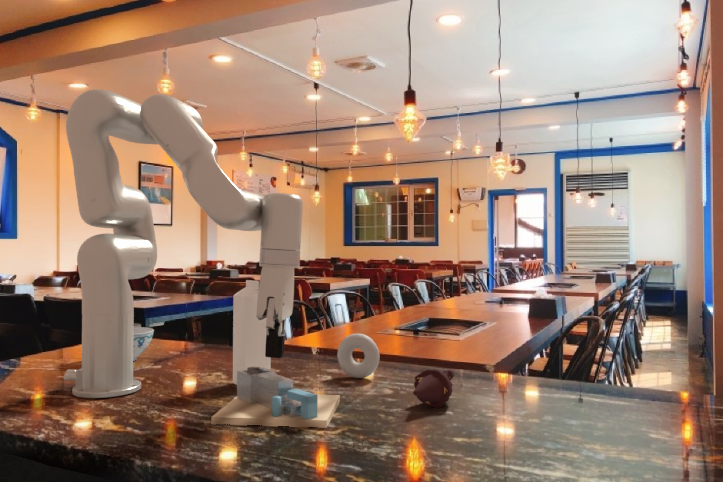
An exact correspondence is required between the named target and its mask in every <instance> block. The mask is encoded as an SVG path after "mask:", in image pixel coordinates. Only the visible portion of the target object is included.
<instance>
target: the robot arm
mask: <svg viewBox="0 0 723 482" xmlns="http://www.w3.org/2000/svg"><path fill="white" fill-rule="evenodd" d="M65 131H66V137H67V138H66V139H67V142H68V147H69V151H70V154H71V155H70V156H71V159H72V166H73V176H74V183H75V185H74V186H75V191H76V197H77V198H76V199H77V206H78V212H79V216H80V217H81V219H82V221H83V222H84V223H85V224H87V225H89V226H91V227H95V228H100V229H101V228H103V229H112V231H113V232H112V233H100V234H99V233H98V234H95V235H93V236H90V237H88V238H86V240H84V241H83V243H82V244H81V245H80V247H79V248H78V252H77V255H76V256H77V257H76V262H77V269H78V271H77V272H78V274H79V275H78V276H79V282H80V287H81V316H82V317H81V367H80V368H79V369H67V370H66V371H65V373H64V376H63V380H64V381H69V382H72V381H74V382H75V386H73V387H72V391H71V393H72V395H73V396H75V397H78V398H85V399H104V398H115V397H121V396H126V395H129V394H132V393H135V392H138V391H139V390H140V389H141V388H142V382H141V381H140V380H138V379H135V378H134V362H133V337H134V327H135V326H134V322H135V321H134V320H135V319H134V317H135V314H134V313H135V312H134V311H135V309H134V308H135V306H134V305H135V303H134V295H133V291H132V288H131V285H130V283H129V280H135V279H136V280H137V279H141V278H142V279H143V278H144V277H146V276H149V274H150V273H152V272H153V270H154V269H155V266H156V264H157V261H158V247H157V240H156V233H155V227H154V218H153V212H152V207H151V203H150V202H149V199H148V198H147V196H146V195H145V193H144V192H143V191H141V190H140V189H138V188H137V187H134V186H131V185H127V184H124V183H123V181H122V178H121V172H120V162H119V158H118V156H117V153H116V150H115V148H114V147H113V144H112V143H111V140H110V137H113V138H118V139H120V140H123V141H127V142H129V143H135V144H144V145H158V146H159V147H160V148H161V149H162V150H163V151H164V152H165V153H166V155H167V156H168V157H169V158H170V159H171V161H173V163H174V164H175V165H176V166H177V168H178V169H179V170H180V172H181V173H182V174H181V175H182V179H183V182H184V184H185V187H186V189H187V191H188V193H189V194H190V196H191V197H192V198H193V199H194V201H195V202H196V203H197V204H198V206H199V207H200V208H201V210H203V212H204V213H205V214H206V215H207V216H208V217H209V218H210V220H211V221H212V222H214V223H215V224H216V225H218V226H220V227H222V228H223V229H226V230H235V231H242V232H257V231H260V245H259V247H260V249H259V262H258V263H259V267H261V272H260V275H259V291H258V301H257V312H256V318H257V319H258V320H263V319H265V318H267V320H266V350H265V356H266V357H271V358H272V359H282V358H283V357H284V356H285V343H286V342H285V341H286V324H287V319H289V318H290V317H291V316H292V314H293V310H294V300H295V299H294V296H295V269H300V266H301V265H300V264H301V263H300V262H301V246H302V245H301V243H302V225H303V209H304V208H303V207H304V205H303V204H304V203H303V199H302V197H300V195H298V194H293V193H285V192H284V193H283V192H282V193H281V192H271V193H267V194H265V195H264V194H259V193H255V192H251V191H247V190H244V189H240V188H238V187H237V186H236V185H235V184H234V182H233V181H232V180H231V179H230V177H228V176H227V174H226V173H225V172H224V171H223V169H222V168H221V167H220V165H219V164H218V163H217V161H216V157H217V155H218V152H219V151H218V145H217V144H216V142H215V141H214V140H213V139H212V138H211V137H210V136H209V134H208V133H207V132H206V131H205V130H204V123H203V119H202V117H201V115H200V113H199V112H198V111H197V109H195V108H194V106H191V105H190V104H187V103H185V102H183V101H181V100H180V99H178V98H176V97H174V96H171V95H168V94H163V93H159V94H158V93H157V94H153V95H152V94H151V96H148V97H147V98H146V99H144V101H143V102H142V103H139V102H137V101H135V100H133V99H130V98H129V97H125V95H124V96H123V95H121V94H118V93H117V92H113V91H110V90H108V89H107V90H106V89H97V88H96V89H95V88H93V89H89V90H87V91H84V92H82V93H81V94H79V96H77V97H76V98H75V99H74V101H73V102H72V104H71V105H70V107H69V110H68V112H67V116H66V121H65Z"/></svg>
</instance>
